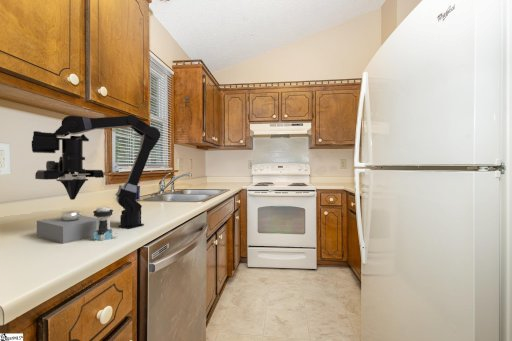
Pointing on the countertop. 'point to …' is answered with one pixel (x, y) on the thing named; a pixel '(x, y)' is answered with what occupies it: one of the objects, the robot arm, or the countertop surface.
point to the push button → (103, 224)
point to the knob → (70, 215)
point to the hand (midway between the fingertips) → (72, 199)
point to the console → (67, 229)
